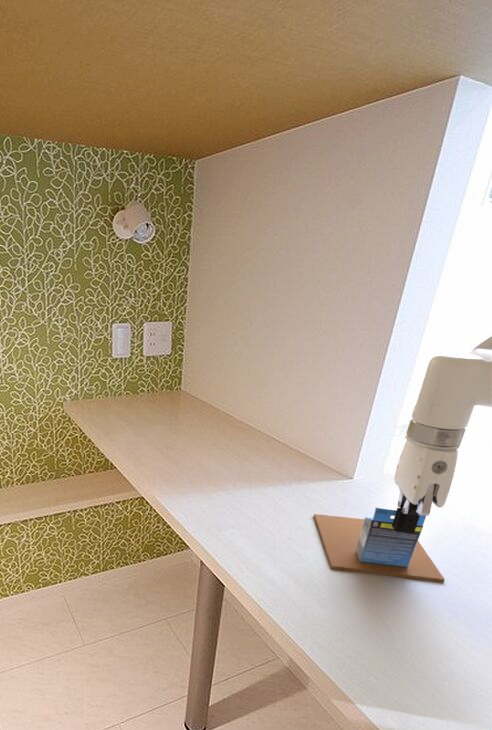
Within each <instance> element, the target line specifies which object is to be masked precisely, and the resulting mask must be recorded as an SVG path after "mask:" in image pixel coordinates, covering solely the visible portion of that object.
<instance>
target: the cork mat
mask: <svg viewBox="0 0 492 730" xmlns="http://www.w3.org/2000/svg"><path fill="white" fill-rule="evenodd" d="M313 518H314V521H315V524H316V528H317V530H318V533H319V536H320V539H321V542H322V545H323V548H324V551H325V555H326V557H327V560H328V563H329V566H330V568H331V569H334V570H341V571H348V572H349V571H350V572H359V573H366V574H375V575H383V576H391V577H400V578H407V579H417V580H423V581H433V582H439V583H444V582H445V580H446V579H445V577H444V576H443V575H442V574H441V572H440V570H439V569H438V567H437V566H436V564H435V563H434V561H433V560H432V559H431V557H430V556H429V554H428V553H427V552H426V550H425V549H424V547H423V546H422V544H421V543H420V541H419V540H418V541H417V544H416V547H415V549H414V552H413V555H412V557H411V560H410V563H409V565H408V567H400V566H392V565H385V564H375V563H366V562H360V560H359V558H358V556H357V553H356V548H357V544H358V540H359V537H360V534H361V530H362V527H363V523H364V520H365V518H356V517H346V516H336V515H328V514H327V515H326V514H316V513H314V514H313Z"/></svg>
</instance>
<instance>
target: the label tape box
mask: <svg viewBox="0 0 492 730" xmlns="http://www.w3.org/2000/svg"><path fill="white" fill-rule="evenodd" d="M396 511H397V509H388V508H381V507H375V508H374V513H373V517H368V516H365V518H364V519H365V520H364V523H363V527H362V530H361V534H360V537H359V540H358V544H357V548H356V553H357V556H358V558H359V560H360V562H366V563H375V564H385V565H392V566H400V567H408V565H409V563H410V560H411V557H412V555H413V552H414V549H415V547H416V544H417V541H419V539H420V536H421V535H422V534H421V533H422V531H423V528H424V524H425V520H426V517H427V515H421V516H420V517H419V520H418V523H417V526H416V529H415V532H414V533H403V532H396V531H395V530H394V528H393V527H392V523H393V520H394V518H391V517H395V514H396Z"/></svg>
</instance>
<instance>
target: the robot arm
mask: <svg viewBox="0 0 492 730" xmlns="http://www.w3.org/2000/svg"><path fill="white" fill-rule="evenodd" d="M475 406H482V407H489V408H492V334H491V335H489V336H488V337H486V338H484V339H483V340H482V341H480V342H479V343H477V344H475V345H474V346H473V347H472V348H470V349H469V350H468V351H466V352H455V351H453V352H452V351H451V352H450V351H445V352H444V351H443V352H437V353H435V354H433V355H432V356H431V357H430V358H429V359H428V361H427V364H426V366H425V370H424V373H423V376H422V380H421V383H420V387H419V390H418V393H417V396H416V400H415V402H414V406H413V411H412V413H411V417H410V420H409V424H408V427H407V430H406V433H405V439H406V441H405V443H404V445H403V448H402V451H401V454H400V456H399V459H398V462H397V465H396V469H395V472H394V479H393V481H394V483H395V485H396V486H397V488H398V489H399V495H398V500H397V508H396V510H397V511H396V514H395V516H393V519H394V520H393V523H392V527H393V528H394V530H395V531H396V532H403V533H414V532H415V529H416V526H417V523H418V520H419V517H420V516H421V515H426V516H430V514H431V509H432V505H433V504H434V506H436V508H443V507H444V506H445V504H446V502H447V499H448V496H449V493H450V489H451V487H452V483H453V480H454V475H455V471H456V467H457V460H458V454H459V450H458V449H459V448H460V446H461V443H462V441H463V438H464V435H465V432H466V430H467V427H468V424H469V422H470V419H471V416H472V413H473V410H474V407H475ZM432 503H433V504H432Z"/></svg>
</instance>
